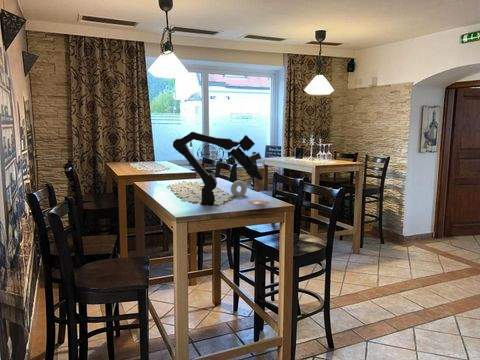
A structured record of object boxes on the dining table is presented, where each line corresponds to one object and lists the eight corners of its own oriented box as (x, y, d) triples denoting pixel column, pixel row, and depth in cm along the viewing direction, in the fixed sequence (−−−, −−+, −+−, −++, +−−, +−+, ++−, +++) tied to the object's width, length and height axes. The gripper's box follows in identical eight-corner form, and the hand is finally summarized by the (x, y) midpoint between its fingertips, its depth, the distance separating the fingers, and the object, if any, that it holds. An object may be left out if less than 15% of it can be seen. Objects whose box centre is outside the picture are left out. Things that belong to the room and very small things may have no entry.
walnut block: (254, 191, 200) (254, 168, 198) (253, 189, 205) (254, 167, 203) (264, 191, 200) (264, 168, 199) (263, 189, 205) (263, 167, 203)
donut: (245, 196, 225) (245, 179, 224) (247, 197, 222) (248, 180, 221) (229, 197, 221) (229, 180, 220) (232, 198, 218) (232, 181, 217)
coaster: (248, 206, 197) (248, 204, 197) (246, 201, 209) (246, 200, 209) (271, 206, 198) (271, 204, 198) (268, 201, 210) (268, 200, 210)
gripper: (253, 147, 190) (275, 170, 192) (251, 145, 209) (271, 166, 210) (237, 163, 191) (258, 185, 193) (236, 160, 209) (256, 180, 211)
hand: (261, 178), depth 202 cm, fingers closed on walnut block, 5 cm apart
